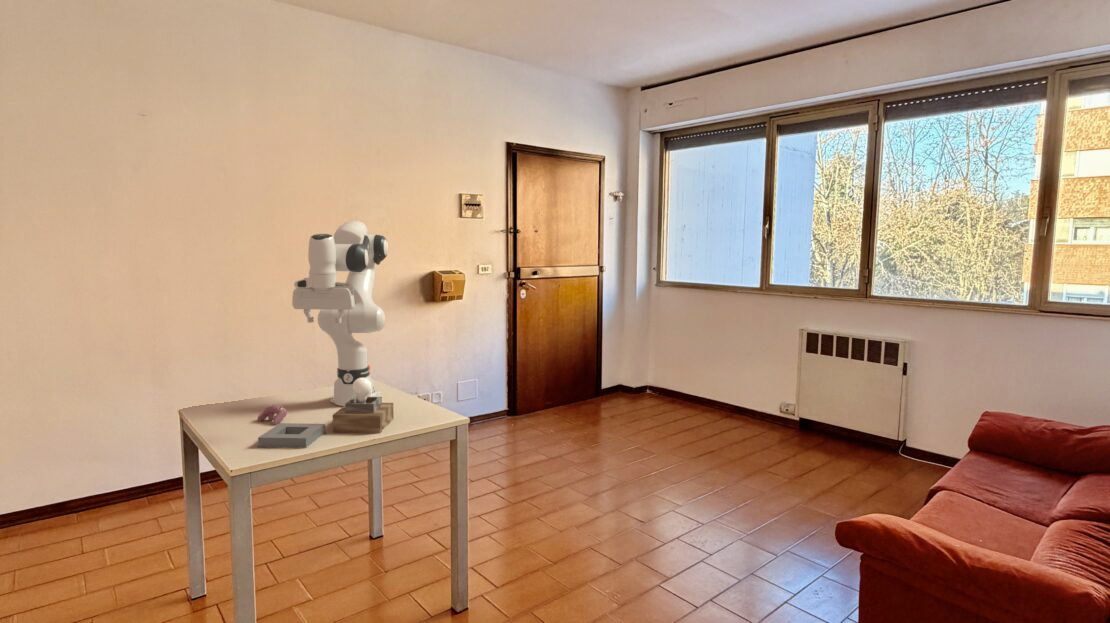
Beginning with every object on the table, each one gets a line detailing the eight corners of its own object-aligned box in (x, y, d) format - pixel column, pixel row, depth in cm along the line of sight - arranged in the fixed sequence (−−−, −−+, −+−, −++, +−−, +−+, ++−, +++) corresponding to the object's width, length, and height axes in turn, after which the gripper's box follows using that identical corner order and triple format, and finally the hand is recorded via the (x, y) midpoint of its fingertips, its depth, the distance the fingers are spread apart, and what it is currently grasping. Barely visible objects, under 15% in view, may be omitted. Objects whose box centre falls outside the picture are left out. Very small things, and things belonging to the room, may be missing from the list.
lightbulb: (348, 410, 207) (348, 378, 205) (359, 405, 213) (359, 375, 211) (364, 412, 205) (364, 380, 204) (375, 407, 211) (375, 376, 210)
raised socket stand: (349, 418, 218) (349, 394, 217) (393, 418, 218) (393, 394, 217) (333, 432, 202) (332, 406, 201) (380, 432, 202) (379, 406, 201)
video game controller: (284, 427, 211) (291, 408, 213) (273, 424, 207) (280, 405, 210) (266, 423, 216) (273, 404, 218) (255, 420, 212) (262, 401, 214)
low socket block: (280, 431, 201) (280, 423, 201) (325, 432, 201) (324, 423, 201) (258, 446, 187) (257, 437, 186) (306, 447, 186) (306, 438, 186)
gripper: (356, 281, 207) (357, 321, 208) (297, 281, 206) (298, 320, 208) (350, 283, 200) (351, 324, 202) (289, 282, 200) (291, 323, 202)
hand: (324, 322), depth 205 cm, fingers open, 8 cm apart
